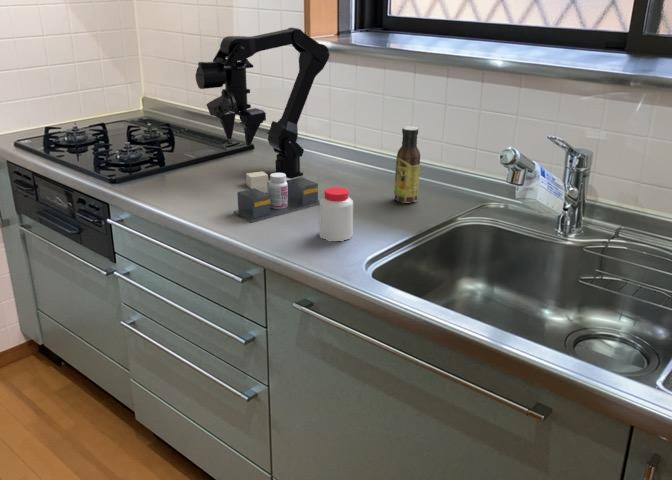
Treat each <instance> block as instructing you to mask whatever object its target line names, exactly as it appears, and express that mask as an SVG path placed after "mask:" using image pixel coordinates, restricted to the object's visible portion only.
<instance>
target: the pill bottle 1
mask: <svg viewBox="0 0 672 480" xmlns="http://www.w3.org/2000/svg"><path fill="white" fill-rule="evenodd" d="M269 181H270V182H269V195H270V207H271V208H274V209H283V208H286V207H287V206H288V185H287V182H286V174H284V173H274V172H273V173H270V175H269Z"/></svg>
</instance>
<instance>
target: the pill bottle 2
mask: <svg viewBox="0 0 672 480" xmlns="http://www.w3.org/2000/svg"><path fill="white" fill-rule="evenodd" d="M349 194H350V193H349V189H347V188H345V187H341V186H340V187H339V186H334V187H333V186H332V187H328V188H325V189H324V196H323V197H322V198H320V199H319V200H320V204H319V237H320V238H321V239H322V238H323V239H326V240H331V241H341V240H346V239H349V238H350V237H352V238H353V236H352V235H354V234H353V232H354V231H353V230H354V229H353V228H354V201H353V199H352V198H351V197H350V196H349ZM323 239H322V240H323ZM326 240H325V241H326ZM349 240H350V239H349Z"/></svg>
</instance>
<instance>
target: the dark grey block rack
mask: <svg viewBox="0 0 672 480" xmlns="http://www.w3.org/2000/svg"><path fill="white" fill-rule="evenodd" d="M290 179H291V180H287V181H286V182H287V185H288V206H287V207H286V208H283V209H274V208H271V207H270V195H268V193H266V192H263V191H261V190H260V189H258V188H253V189H251V188H249V189H245V190H241V191H237V210H234V211H233V214H234V215H236V216H238V217H240V218H241V219H244V220H246V221H248V222H249V223H251V224H252V223H255V222H258V221H259V222H260V221H262V220H267V219H270V218H271V219H272V218H273V217H278V216H281V214H282V215H284V214H285V213H286V214H289V213H292V212H295V211H296V210H297V211H301V210H304V209H308V208H311V206H312V207H315V206H320V200H321V199H319V184H318V182H315V181H313V180H310V179H308V178H305V177H303V176H302V177H300V176H299V177H297V178H290Z"/></svg>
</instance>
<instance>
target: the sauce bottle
mask: <svg viewBox="0 0 672 480" xmlns="http://www.w3.org/2000/svg"><path fill="white" fill-rule="evenodd" d="M401 132H402V133H401V134H402V141H401V147H400V148H398V150H397V153H396V160H395V161H396V162H395V174H394V175H395V176H394V190H393V191H394V200H395V201H396V200H397V201H396V202H398V201H400V202H413V201H415V200H418V195H419V185H420V184H419V182H420V170H421V152H420V150H419V148H418V146H417V145H418V134H419V127H417V126H412V125H411V126H410V125H407V126H406V125H405V126H403V127H402V129H401ZM400 202H399V203H400Z"/></svg>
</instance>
